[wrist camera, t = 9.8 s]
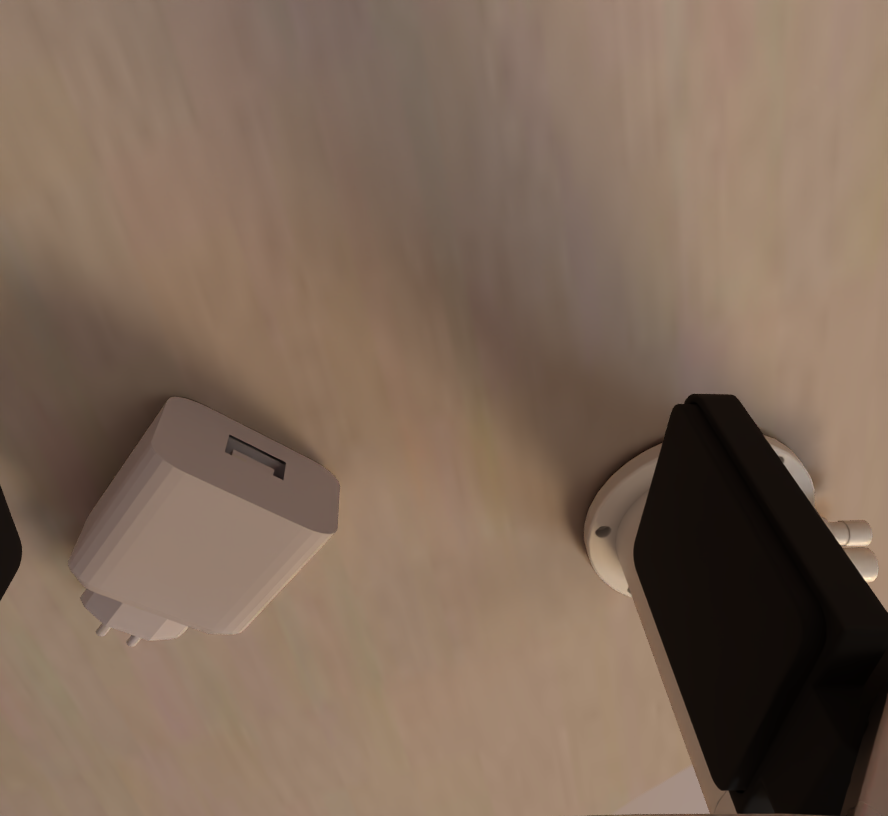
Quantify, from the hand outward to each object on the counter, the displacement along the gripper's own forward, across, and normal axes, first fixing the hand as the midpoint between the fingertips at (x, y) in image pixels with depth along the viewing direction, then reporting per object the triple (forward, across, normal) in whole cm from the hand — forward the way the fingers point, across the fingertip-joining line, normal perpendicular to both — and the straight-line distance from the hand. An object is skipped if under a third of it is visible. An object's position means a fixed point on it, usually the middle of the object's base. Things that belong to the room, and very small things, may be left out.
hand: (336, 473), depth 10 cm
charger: (+22, +10, +21) cm, 32 cm away
